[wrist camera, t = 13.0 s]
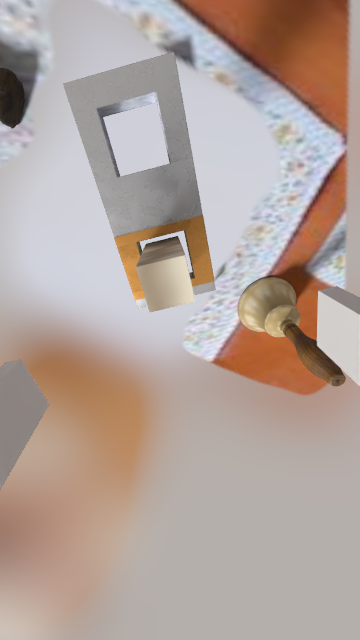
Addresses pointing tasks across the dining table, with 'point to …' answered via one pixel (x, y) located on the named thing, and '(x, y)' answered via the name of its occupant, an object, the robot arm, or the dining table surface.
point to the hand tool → (10, 98)
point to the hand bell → (285, 324)
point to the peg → (165, 275)
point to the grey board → (150, 185)
